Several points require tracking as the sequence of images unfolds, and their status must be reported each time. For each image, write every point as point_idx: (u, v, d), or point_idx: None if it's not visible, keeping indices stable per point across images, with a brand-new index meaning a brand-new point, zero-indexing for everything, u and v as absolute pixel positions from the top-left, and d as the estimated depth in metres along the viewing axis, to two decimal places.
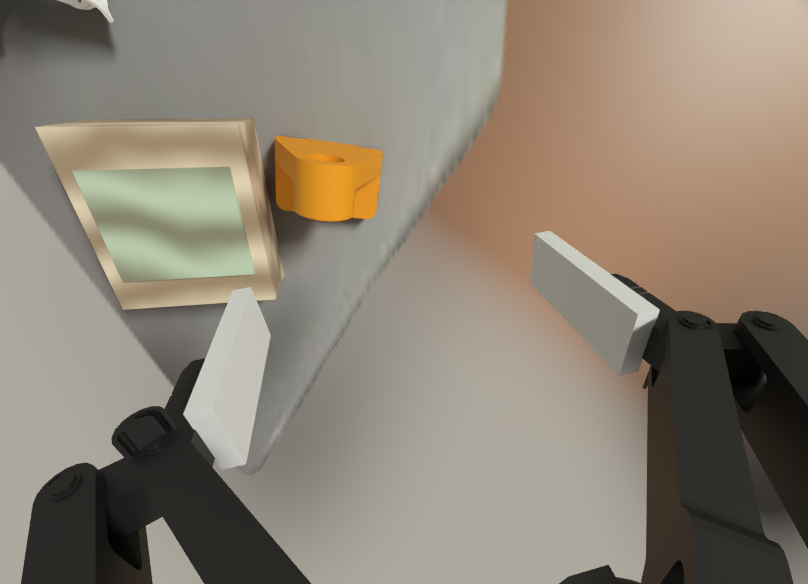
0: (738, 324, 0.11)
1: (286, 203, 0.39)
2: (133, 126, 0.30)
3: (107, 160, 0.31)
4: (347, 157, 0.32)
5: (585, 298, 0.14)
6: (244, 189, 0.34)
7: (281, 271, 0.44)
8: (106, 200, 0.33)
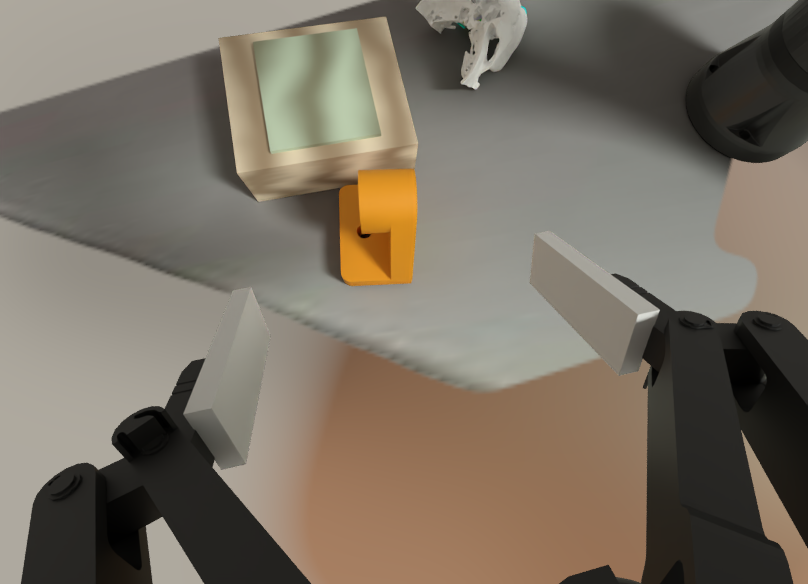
0: (738, 324, 0.11)
1: (346, 194, 0.38)
2: (399, 74, 0.38)
3: (369, 52, 0.38)
4: None
5: (585, 298, 0.14)
6: (362, 146, 0.36)
7: (264, 196, 0.40)
8: (335, 44, 0.38)
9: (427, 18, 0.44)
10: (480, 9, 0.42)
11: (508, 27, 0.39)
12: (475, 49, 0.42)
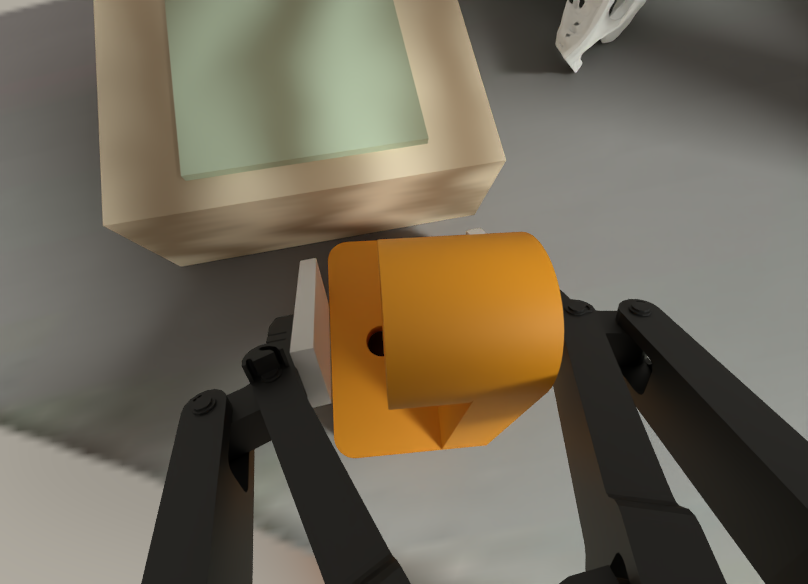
0: (618, 314, 0.12)
1: (343, 261, 0.19)
2: None
3: None
4: None
5: None
6: (386, 166, 0.16)
7: (189, 258, 0.20)
8: None
9: None
10: None
11: None
12: None
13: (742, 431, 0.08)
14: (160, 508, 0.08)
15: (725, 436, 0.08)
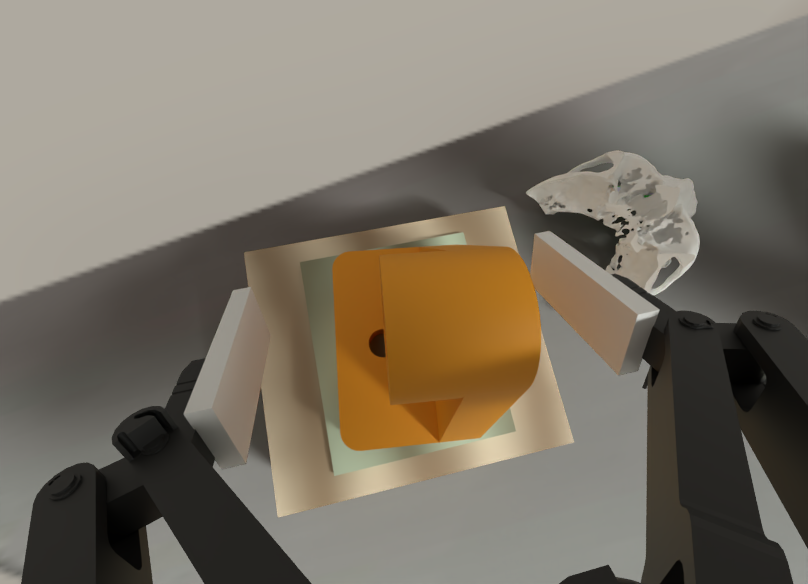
0: (738, 324, 0.11)
1: (346, 269, 0.20)
2: None
3: None
4: None
5: (585, 298, 0.14)
6: (484, 452, 0.22)
7: None
8: None
9: (539, 201, 0.30)
10: (629, 202, 0.28)
11: (695, 256, 0.24)
12: (623, 264, 0.27)
13: None
14: None
15: None
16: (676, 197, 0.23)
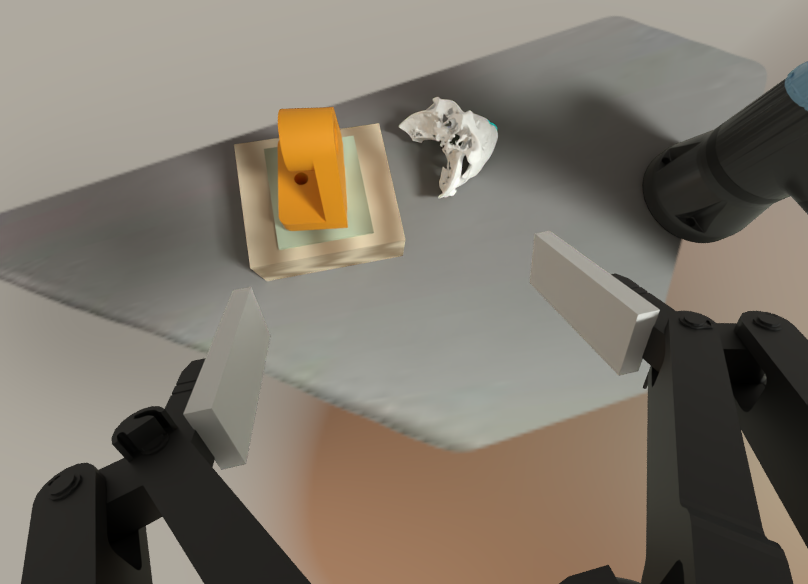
0: (738, 324, 0.11)
1: None
2: None
3: (364, 157, 0.44)
4: (339, 165, 0.35)
5: (585, 298, 0.14)
6: (357, 243, 0.42)
7: (272, 277, 0.45)
8: None
9: (409, 133, 0.50)
10: (455, 130, 0.48)
11: (478, 154, 0.44)
12: (451, 166, 0.47)
13: None
14: None
15: None
16: (461, 120, 0.43)
